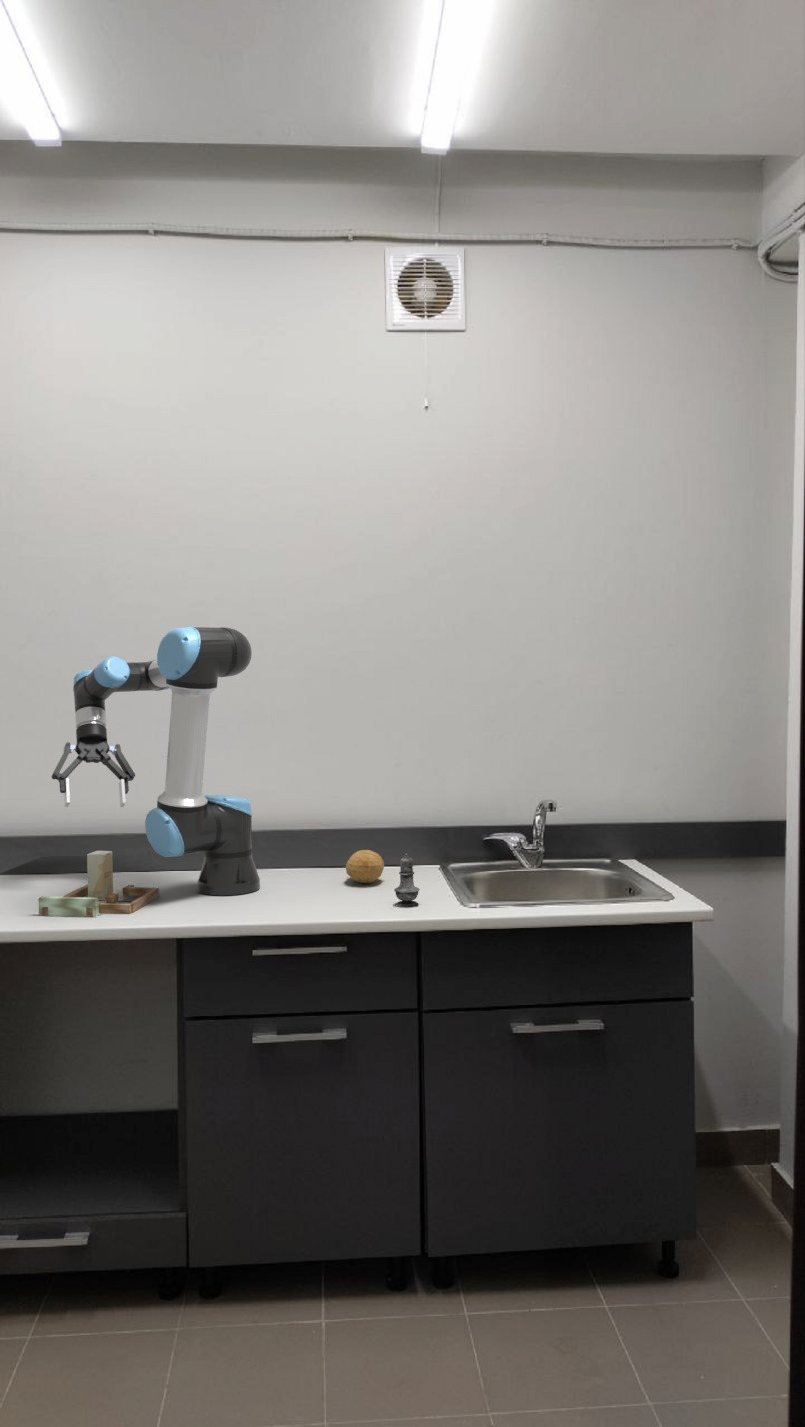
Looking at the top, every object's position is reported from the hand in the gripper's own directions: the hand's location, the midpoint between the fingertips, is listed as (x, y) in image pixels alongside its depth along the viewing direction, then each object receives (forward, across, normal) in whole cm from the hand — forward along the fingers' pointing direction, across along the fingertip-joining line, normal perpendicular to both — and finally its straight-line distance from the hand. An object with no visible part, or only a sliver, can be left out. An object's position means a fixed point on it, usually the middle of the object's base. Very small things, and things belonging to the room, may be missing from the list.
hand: (95, 805), depth 275 cm
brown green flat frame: (+28, +1, +6) cm, 28 cm away
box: (+24, 0, 0) cm, 24 cm away
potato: (+28, -62, +16) cm, 70 cm away
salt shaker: (+41, -60, +40) cm, 83 cm away
